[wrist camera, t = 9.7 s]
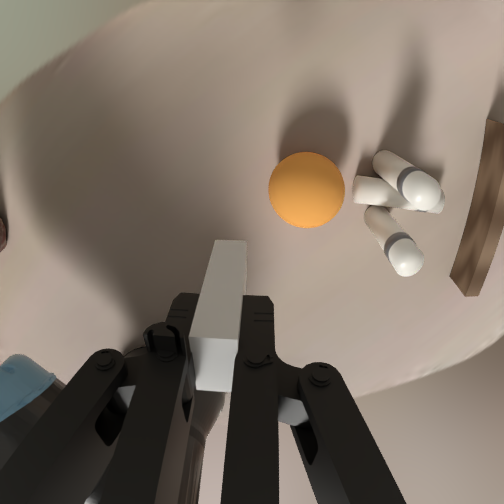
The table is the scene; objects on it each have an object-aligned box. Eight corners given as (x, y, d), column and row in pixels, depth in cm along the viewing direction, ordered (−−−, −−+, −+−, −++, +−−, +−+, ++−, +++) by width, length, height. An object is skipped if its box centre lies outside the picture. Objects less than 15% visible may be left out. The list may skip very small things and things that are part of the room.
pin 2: (389, 224, 29) (425, 271, 22) (366, 231, 30) (395, 280, 22) (386, 201, 28) (423, 243, 21) (361, 207, 29) (392, 252, 21)
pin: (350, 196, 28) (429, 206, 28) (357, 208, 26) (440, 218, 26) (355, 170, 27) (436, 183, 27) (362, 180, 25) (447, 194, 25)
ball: (248, 209, 27) (300, 195, 30) (295, 252, 24) (346, 231, 27) (259, 143, 23) (315, 137, 26) (316, 181, 20) (369, 170, 23)
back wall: (462, 276, 32) (478, 296, 28) (449, 276, 32) (465, 296, 28) (499, 123, 23) (524, 131, 20) (486, 118, 23) (510, 126, 20)
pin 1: (399, 172, 27) (442, 206, 19) (374, 179, 27) (412, 215, 20) (394, 146, 26) (439, 172, 18) (368, 153, 26) (407, 181, 19)
